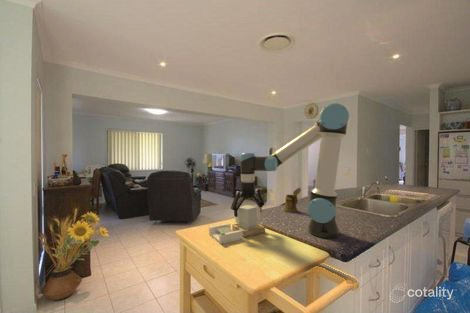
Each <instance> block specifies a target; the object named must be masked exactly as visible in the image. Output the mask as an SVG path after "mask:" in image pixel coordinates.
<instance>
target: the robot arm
mask: <svg viewBox="0 0 470 313" xmlns="http://www.w3.org/2000/svg"><path fill="white" fill-rule="evenodd" d="M318 117H319V119H318V120H316V121H315V122H314V125H313V126H311V127H310V128H309V129H307V130H306V131H304V132H303V133H301V134H299V135H298V136H296V138H294V139H292V140H291V141H289V142H288V143H287V144H285V145H284V146H282V147H281V148H279V149H278V150H276V151H275V152H274V153H272V154H270V155H268V156H256V155H255V153H254V152H242V153H241V154H240V161H239V162H240V181H241V182H240V189H241V190H240V191H238V190H237V191H235V196H234V199H233V201H232V203H231V206H230V209H231V210H233V215H234V218H235V223H236V224H237V223H239V207H242V204H243V203H244V202H245V201H246V200H248V199H250V200H251V199H252V200H253V202H254V203H255V205H257V206H256V207H257V220H261V213H262V208H263V206H265V205H266V204H265V202H264V200H263V197H262V195H261V192H260V189H257V188H256V183H255V181H256V178H255V177H256V175H255V172H275V171H276V170H277V169H278V168H279V167H280V166H281V165H282V164H284V163H285V162H287V161H288V160H290V159H292V158H293V157H294V156H295V157H296V156H297V155H298V154H299V153H301V152H302V151H304V150H305V149H307V148H309V146H310V147H311V145H313V144H314V143H315V144H316V143H317V142H318V141H319V140H320V145H319V153H318V159H317V160H318V161H317V167H316V176H315V184H314V187H313V188H311V190H310V194H309V202H308V204H307V212H308V213H307V214H308V215H309V217H310V222H309V225H308V230H307V231H308V233H309V232H310V233H311V234H310V233H309V234H310V235H312V234H313V235H312V236H314V235H315V237H317V236H318V237H319V238H323V239H331V238H332V239H334V238H337V237H339V236H340V229H339V226H338V223H337V219H336V207H337V199H338V193H337V192H336V191H335V188H336V180H337V175H338V174H337V173H338V167H339V166H338V165H339V159H340V152H341V151H340V150H341V144H342V139H343V138H344V137H346V135H347V129H348V121H349V119H350V113H349V111H348V109H347V107H346V106H345V105H343V104H341V103H339V102H337V103H335V102H334V103H330V104H327V105H326V106H324V107H323V108H322V109H321V111H320V112H319V116H318Z"/></svg>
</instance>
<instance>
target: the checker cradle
mask: <svg viewBox="0 0 470 313" xmlns="http://www.w3.org/2000/svg"><path fill="white" fill-rule="evenodd" d="M223 227H228V228H229V229H231V230H232V228H231V227H232V226H231V223H230V222H229V223H228V222H227V223H222V224H217V225H211V226H208V234H210V235H209V236H210V237H212V238H213V239H214V240H215V239H216V240H217V243H218V244H220V245H222V244H227V243H231V242H234V241H239V240H240V241H241V240H243V237H242V230H238V231H233V230H232V231H233V232H229V233H225V232H222V233H219V232H217V231H216V229H218V228H223ZM216 240H215V241H216Z"/></svg>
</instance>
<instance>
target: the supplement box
mask: <svg viewBox="0 0 470 313" xmlns="http://www.w3.org/2000/svg"><path fill="white" fill-rule="evenodd" d="M238 211H239V228H241V229H243V230H245V231H246V230H251V229H255V228H257V223H258V218H257V206H254V205H249V204H247V205H241V206H240V207H239V209H238Z"/></svg>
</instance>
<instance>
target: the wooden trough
mask: <svg viewBox="0 0 470 313" xmlns="http://www.w3.org/2000/svg"><path fill="white" fill-rule="evenodd" d="M231 227H232V228H231V230H233V231H238V230H242V238H244V239H245V238H249V237H253V236H258V235H263V234H266V227H265V226H264V225H262V224H260V223H258V222H257V228H255V229H251V230H246V231H245V230H243V229H241V228H239V223H237V222H236V223H232V226H231Z"/></svg>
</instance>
